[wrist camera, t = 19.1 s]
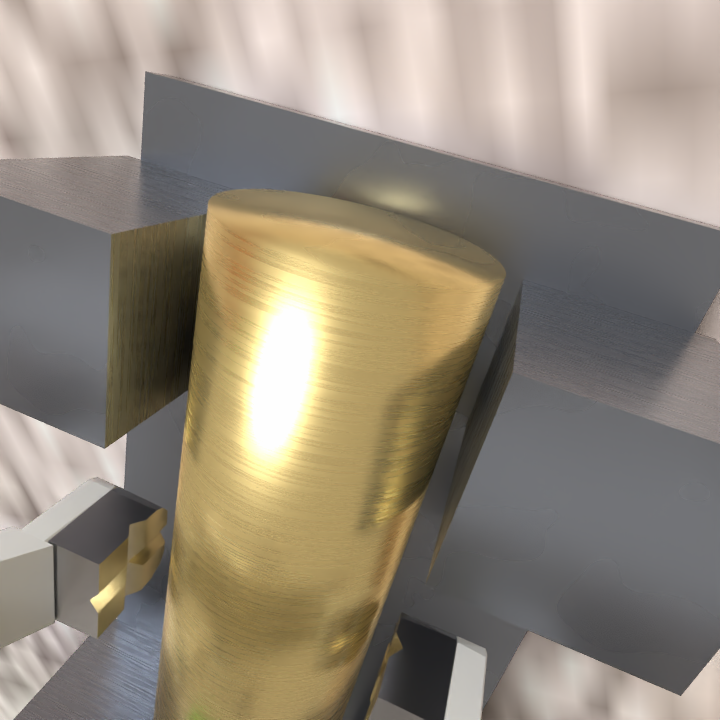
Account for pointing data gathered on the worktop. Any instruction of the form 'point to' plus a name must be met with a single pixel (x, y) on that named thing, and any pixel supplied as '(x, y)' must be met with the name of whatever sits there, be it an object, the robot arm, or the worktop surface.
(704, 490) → the grey base plate
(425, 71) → the worktop surface
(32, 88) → the worktop surface
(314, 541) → the axle
